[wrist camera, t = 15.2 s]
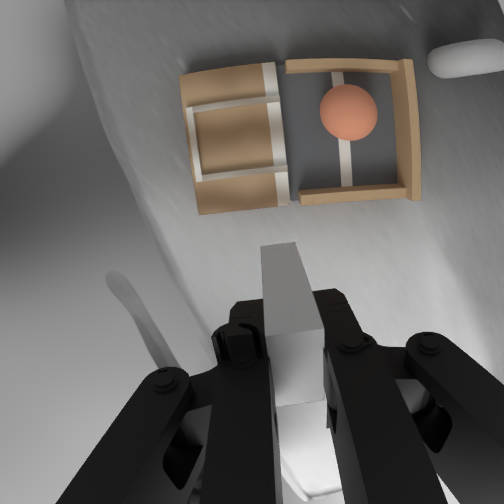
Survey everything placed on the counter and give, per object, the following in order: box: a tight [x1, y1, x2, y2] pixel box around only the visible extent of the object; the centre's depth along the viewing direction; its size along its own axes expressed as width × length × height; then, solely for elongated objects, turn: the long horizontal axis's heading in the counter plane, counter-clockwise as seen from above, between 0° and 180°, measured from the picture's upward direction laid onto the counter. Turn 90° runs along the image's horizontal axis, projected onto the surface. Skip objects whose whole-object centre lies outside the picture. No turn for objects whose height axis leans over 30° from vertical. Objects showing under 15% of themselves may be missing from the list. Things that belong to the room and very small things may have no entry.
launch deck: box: [179, 62, 290, 215], centre depth 29 cm, size 14×9×3 cm, turn 7°
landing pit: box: [275, 58, 421, 206], centre depth 28 cm, size 14×13×4 cm
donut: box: [427, 39, 504, 78], centre depth 22 cm, size 10×4×10 cm, turn 112°
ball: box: [320, 84, 377, 141], centre depth 26 cm, size 5×5×5 cm
